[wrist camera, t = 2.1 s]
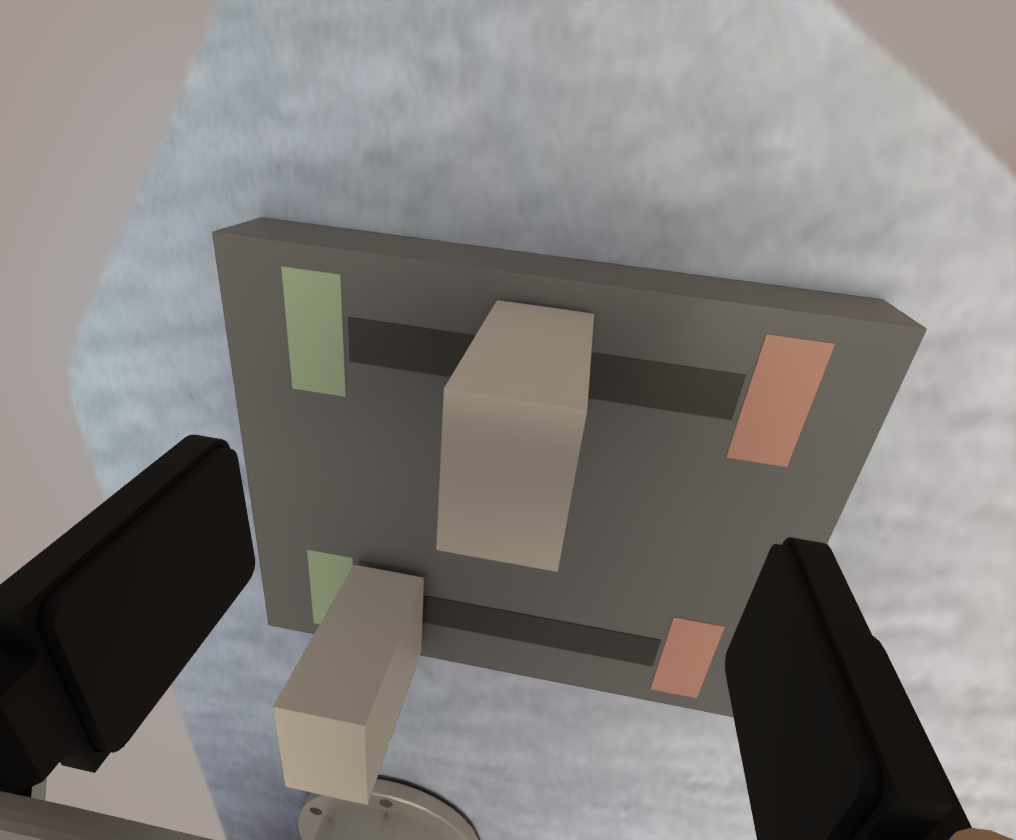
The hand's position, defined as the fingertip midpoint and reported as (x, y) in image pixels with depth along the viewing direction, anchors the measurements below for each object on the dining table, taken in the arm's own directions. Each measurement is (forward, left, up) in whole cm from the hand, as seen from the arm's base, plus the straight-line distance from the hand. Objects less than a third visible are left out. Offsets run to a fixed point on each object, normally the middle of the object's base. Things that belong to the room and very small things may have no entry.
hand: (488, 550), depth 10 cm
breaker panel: (-7, 0, -13) cm, 14 cm away
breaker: (-13, +5, -9) cm, 17 cm away
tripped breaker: (-1, 0, -10) cm, 9 cm away
